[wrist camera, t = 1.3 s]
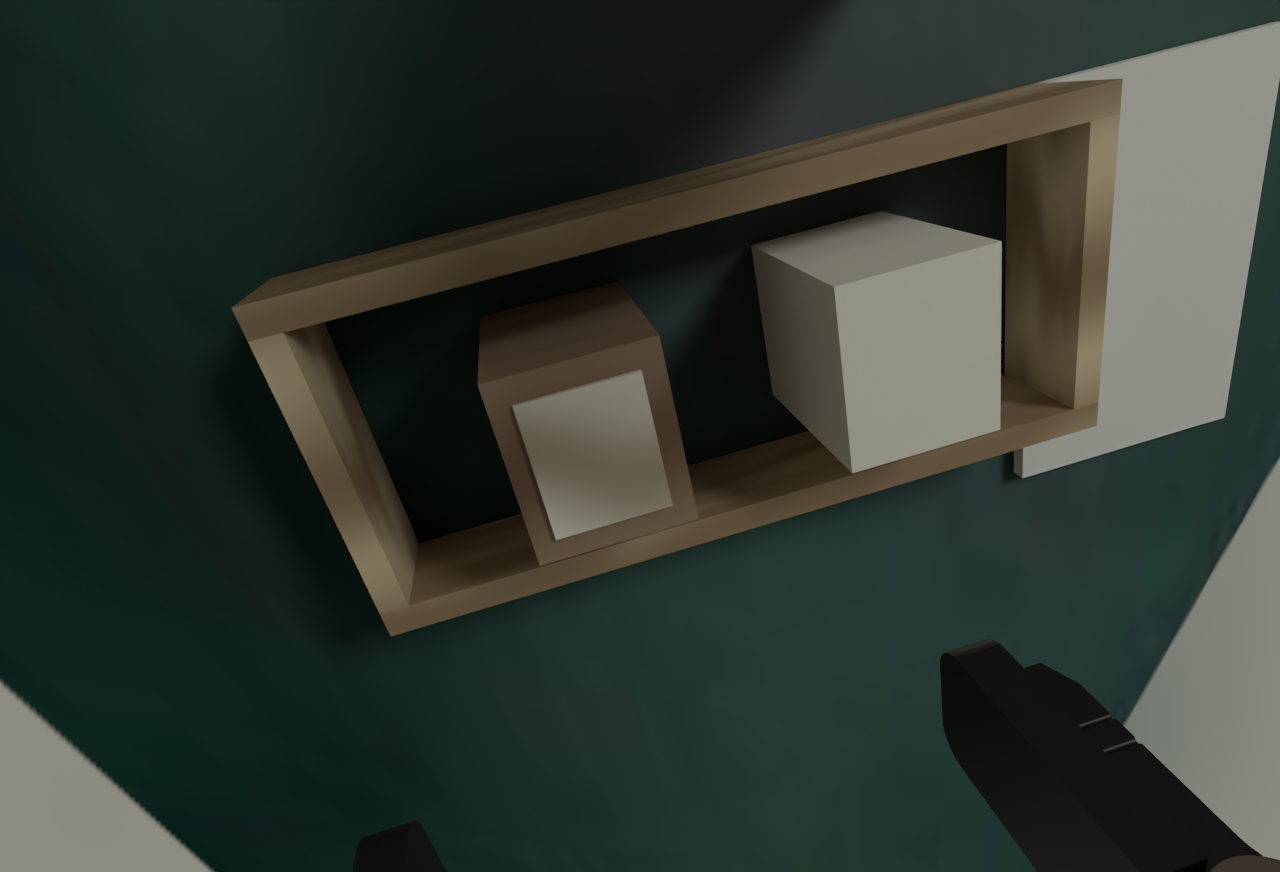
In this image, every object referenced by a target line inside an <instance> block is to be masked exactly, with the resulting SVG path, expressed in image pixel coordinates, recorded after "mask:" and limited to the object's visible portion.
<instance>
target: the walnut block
mask: <svg viewBox="0 0 1280 872" xmlns="http://www.w3.org/2000/svg"><path fill="white" fill-rule="evenodd" d="M478 388H479V391H480V393H481V396H482V399H483V402H484V405H485V408H486V411H487V414H488V417H489V420H490V422H491V425H492V428H493V431H494V434H495V437H496V440H497V443H498V446H499V449H500V452H501V454H502V457H503V460H504V463H505V466H506V469H507V472H508V475H509V478H510V481H511V483H512V486H513V489H514V492H515V495H516V498H517V501H518V504H519V507H520V510H521V512H522V515H523V518H524V521H525V524H526V527H527V530H528V533H529V536H530V539H531V542H532V544H533V547H534V550H535V553H536V556H537V559H538V562H539V565H540V566H541V565H545V564H548V563H551V562H555V561H558V560H562V559H565V558H568V557H572V556H575V555H578V554H582V553H585V552H589V551H592V550H595V549H599V548H602V547H606V546H609V545H612V544H616V543H619V542H622V541H626V540H629V539H633V538H636V537H639V536H643V535H646V534H649V533H653V532H656V531H660V530H663V529H666V528H670V527H673V526H676V525H680V524H683V523H687V522H690V521H693V520H697V519H699V518H698V513H697V508H696V504H695V499H694V494H693V490H692V485H691V480H690V476H689V471H688V466H687V462H686V457H685V452H684V448H683V443H682V438H681V434H680V429H679V424H678V420H677V415H676V410H675V406H674V401H673V396H672V392H671V387H670V382H669V378H668V373H667V368H666V364H665V359H664V354H663V350H662V345H661V340H660V336H659V334H658V333H657V331H656V330H655V329H654V327H653V326H652V325H651V324H650V322H649V321H648V320H647V318H646V317H645V316H644V314H643V313H642V312H641V310H640V309H639V308H638V307H637V305H636V304H635V303H634V301H633V300H632V299H631V297H630V296H629V295H628V293H627V292H626V291H625V290H624V288H623V287H622V286H621V284H620V283H619V282H618V281H614V282H611V283H607V284H603V285H599V286H596V287H592V288H588V289H584V290H581V291H577V292H573V293H569V294H566V295H562V296H558V297H554V298H550V299H547V300H543V301H539V302H535V303H532V304H528V305H524V306H520V307H517V308H513V309H509V310H505V311H502V312H498V313H494V314H490V315H487V316H483V317H480V337H479V362H478Z"/></svg>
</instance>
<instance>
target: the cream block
mask: <svg viewBox="0 0 1280 872" xmlns="http://www.w3.org/2000/svg"><path fill="white" fill-rule="evenodd" d="M751 249H752V256H753V263H754V269H755V276H756V283H757V290H758V297H759V304H760V310H761V317H762V324H763V331H764V338H765V345H766V352H767V358H768V365H769V372H770V379H771V386H772V393H773V395H774V396H775V397H776V398H777V399H778V400H779V401H780V402H781V403H782V404H783V405H784V406H785V407H786V408H787V409H788V410H789V411H790V412H791V413H792V414H793V415H794V416H795V417H796V418H797V419H798V420H799V421H800V422H801V423H802V424H803V425H804V426H805V427H806V428H807V429H808V430H809V431H810V432H811V433H812V434H813V435H814V436H815V437H816V438H817V439H818V440H819V441H820V442H821V443H822V444H823V445H824V446H825V447H826V448H827V449H828V450H829V451H830V452H831V453H832V454H833V455H834V456H835V457H836V458H837V459H838V460H839V461H840V462H841V463H842V464H843V465H844V466H845V467H846V468H847V469H848V470H849V471H850V472H851V473H856V472H859V471H862V470H866V469H869V468H873V467H876V466H879V465H883V464H886V463H889V462H893V461H896V460H900V459H903V458H906V457H910V456H913V455H916V454H920V453H923V452H927V451H930V450H933V449H937V448H940V447H943V446H947V445H950V444H954V443H957V442H960V441H964V440H967V439H971V438H974V437H977V436H981V435H984V434H987V433H991V432H994V431H998V430H1000V412H1001V282H1002V241H999V240H995V239H991V238H987V237H983V236H979V235H975V234H971V233H967V232H963V231H959V230H955V229H951V228H947V227H943V226H939V225H935V224H931V223H927V222H923V221H919V220H915V219H911V218H907V217H903V216H899V215H895V214H891V213H887V212H883V211H878V212H874V213H871V214H867V215H863V216H859V217H855V218H852V219H848V220H844V221H840V222H837V223H833V224H829V225H825V226H822V227H818V228H814V229H810V230H807V231H803V232H799V233H795V234H791V235H788V236H784V237H780V238H776V239H773V240H769V241H765V242H761V243H758V244H754V245H751Z"/></svg>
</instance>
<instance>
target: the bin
mask: <svg viewBox="0 0 1280 872" xmlns="http://www.w3.org/2000/svg"><path fill="white" fill-rule="evenodd" d="M1122 82H1123V79H1107V80H1088V81H1069V82H1050V83H1033V84H1029V85H1026V86H1021V87H1017V88H1013V89H1010V90H1006V91H1002V92H998V93H994V94H990V95H986V96H982V97H978V98H974V99H970V100H966V101H963V102H959V103H955V104H951V105H947V106H943V107H939V108H935V109H931V110H927V111H923V112H919V113H916V114H912V115H908V116H904V117H900V118H896V119H892V120H888V121H884V122H880V123H876V124H872V125H869V126H865V127H861V128H857V129H853V130H849V131H845V132H841V133H837V134H833V135H829V136H825V137H822V138H818V139H814V140H810V141H806V142H802V143H798V144H794V145H790V146H786V147H782V148H778V149H775V150H771V151H767V152H763V153H759V154H755V155H751V156H747V157H743V158H739V159H735V160H731V161H728V162H724V163H720V164H716V165H712V166H708V167H704V168H700V169H696V170H692V171H688V172H684V173H681V174H677V175H673V176H669V177H665V178H661V179H657V180H653V181H649V182H645V183H641V184H637V185H634V186H630V187H626V188H622V189H618V190H614V191H610V192H606V193H602V194H598V195H594V196H590V197H587V198H583V199H579V200H575V201H571V202H567V203H563V204H559V205H555V206H551V207H547V208H543V209H540V210H536V211H532V212H528V213H524V214H520V215H516V216H512V217H508V218H504V219H500V220H496V221H493V222H489V223H485V224H481V225H477V226H473V227H469V228H465V229H461V230H457V231H453V232H449V233H446V234H442V235H438V236H434V237H430V238H426V239H422V240H418V241H414V242H410V243H406V244H402V245H399V246H395V247H391V248H387V249H383V250H379V251H375V252H371V253H367V254H363V255H359V256H355V257H352V258H348V259H344V260H340V261H336V262H332V263H328V264H324V265H320V266H316V267H312V268H308V269H305V270H301V271H297V272H293V273H289V274H285V275H281V276H277V277H273V278H271V279H269V280H268V281H267V282H265V283H264V284H263V285H261V286H260V287H259V288H257V289H256V290H255V291H253V292H252V293H251V294H249V295H248V296H247V297H245V298H244V299H243V300H242V301H240V302H239V303H238V304H236V305H235V306H234V307H232V310H233V312H234V314H235V316H236V318H237V321H238V323H239V325H240V327H241V329H242V331H243V333H244V335H245V337H246V339H247V341H248V343H249V345H250V347H251V349H252V351H253V354H254V356H255V358H256V360H257V362H258V364H259V366H260V368H261V370H262V372H263V374H264V376H265V378H266V380H267V382H268V384H269V387H270V389H271V391H272V393H273V395H274V397H275V399H276V401H277V403H278V405H279V407H280V409H281V411H282V413H283V415H284V417H285V420H286V422H287V424H288V426H289V428H290V430H291V432H292V434H293V436H294V438H295V440H296V442H297V444H298V446H299V448H300V450H301V453H302V455H303V457H304V459H305V461H306V463H307V465H308V467H309V469H310V471H311V473H312V475H313V477H314V479H315V481H316V483H317V486H318V488H319V490H320V492H321V494H322V496H323V498H324V500H325V502H326V504H327V506H328V508H329V510H330V512H331V514H332V516H333V519H334V521H335V523H336V525H337V527H338V529H339V531H340V533H341V535H342V537H343V539H344V541H345V543H346V545H347V547H348V550H349V552H350V554H351V556H352V558H353V560H354V562H355V564H356V566H357V568H358V570H359V572H360V574H361V576H362V578H363V580H364V583H365V585H366V587H367V589H368V591H369V593H370V595H371V597H372V599H373V601H374V603H375V605H376V607H377V609H378V611H379V613H380V616H381V618H382V620H383V622H384V624H385V626H386V628H387V630H388V632H389V634H390V636H394V635H397V634H401V633H404V632H407V631H411V630H414V629H417V628H421V627H424V626H427V625H431V624H434V623H437V622H441V621H444V620H447V619H451V618H454V617H458V616H461V615H464V614H468V613H471V612H474V611H478V610H481V609H484V608H488V607H491V606H494V605H498V604H501V603H504V602H508V601H511V600H515V599H518V598H521V597H525V596H528V595H531V594H535V593H538V592H541V591H545V590H548V589H551V588H555V587H558V586H562V585H565V584H568V583H572V582H575V581H578V580H582V579H585V578H588V577H592V576H595V575H598V574H602V573H605V572H608V571H612V570H615V569H619V568H622V567H625V566H629V565H632V564H635V563H639V562H642V561H645V560H649V559H652V558H655V557H659V556H662V555H665V554H669V553H672V552H676V551H679V550H682V549H686V548H689V547H692V546H696V545H699V544H702V543H706V542H709V541H712V540H716V539H719V538H722V537H726V536H729V535H733V534H736V533H739V532H743V531H746V530H749V529H753V528H756V527H759V526H763V525H766V524H769V523H773V522H776V521H780V520H783V519H786V518H790V517H793V516H796V515H800V514H803V513H806V512H810V511H813V510H816V509H820V508H823V507H826V506H830V505H833V504H837V503H840V502H843V501H847V500H850V499H853V498H857V497H860V496H863V495H867V494H870V493H873V492H877V491H880V490H883V489H887V488H890V487H894V486H897V485H900V484H904V483H907V482H910V481H914V480H917V479H920V478H924V477H927V476H930V475H934V474H937V473H940V472H944V471H947V470H951V469H954V468H957V467H961V466H964V465H967V464H971V463H974V462H977V461H981V460H984V459H987V458H991V457H994V456H998V455H1001V454H1004V453H1008V452H1011V451H1014V450H1018V449H1021V448H1024V447H1028V446H1031V445H1034V444H1038V443H1041V442H1044V441H1048V440H1051V439H1055V438H1058V437H1061V436H1065V435H1068V434H1071V433H1075V432H1078V431H1081V430H1085V429H1088V428H1091V427H1095V426H1097V416H1098V402H1099V389H1100V376H1101V362H1102V349H1103V336H1104V322H1105V309H1106V296H1107V282H1108V269H1109V256H1110V242H1111V229H1112V216H1113V202H1114V189H1115V176H1116V162H1117V149H1118V136H1119V122H1120V109H1121V96H1122ZM1003 144H1007V191H1006V284H1005V374H1003V375H1001V412H1000V430H998V431H994V432H991V433H987V434H984V435H981V436H977V437H974V438H971V439H967V440H964V441H960V442H957V443H954V444H950V445H947V446H943V447H940V448H937V449H933V450H930V451H927V452H923V453H920V454H916V455H913V456H910V457H906V458H903V459H900V460H896V461H893V462H889V463H886V464H883V465H879V466H876V467H873V468H869V469H866V470H862V471H859V472H856V473H851V472H850V471H849V470H848V469H847V468H846V467H845V466H844V465H843V464H842V463H841V462H840V461H839V460H838V459H837V458H836V457H835V456H834V455H833V454H832V453H831V452H830V451H829V450H828V449H827V448H826V447H825V446H824V445H823V444H822V443H821V442H820V441H819V440H818V439H817V438H816V437H815V436H814V435H813V434H812V433H811V432H810V431H806V432H803V433H799V434H796V435H792V436H789V437H785V438H782V439H778V440H775V441H771V442H768V443H764V444H761V445H758V446H754V447H751V448H747V449H744V450H740V451H737V452H733V453H730V454H726V455H723V456H719V457H716V458H713V459H709V460H706V461H702V462H699V463H695V464H692V465H688V471H689V476H690V480H691V485H692V490H693V494H694V499H695V504H696V508H697V513H698V518H699V519H697V520H693V521H690V522H687V523H683V524H680V525H676V526H673V527H670V528H666V529H663V530H660V531H656V532H653V533H649V534H646V535H643V536H639V537H636V538H633V539H629V540H626V541H622V542H619V543H616V544H612V545H609V546H606V547H602V548H599V549H595V550H592V551H589V552H585V553H582V554H578V555H575V556H572V557H568V558H565V559H562V560H558V561H555V562H551V563H548V564H545V565H541V566H540V565H539V562H538V559H537V556H536V553H535V550H534V547H533V544H532V542H531V539H530V536H529V533H528V530H527V527H526V524H525V521H524V518H523V515H522V514H519V515H515V516H512V517H508V518H505V519H501V520H498V521H494V522H491V523H487V524H484V525H481V526H477V527H474V528H470V529H467V530H463V531H460V532H456V533H453V534H449V535H446V536H442V537H439V538H436V539H432V540H429V541H425V542H422V543H419V542H418V540H417V537H416V535H415V533H414V530H413V528H412V526H411V523H410V521H409V519H408V516H407V514H406V512H405V509H404V507H403V505H402V502H401V500H400V498H399V495H398V493H397V491H396V488H395V486H394V484H393V481H392V479H391V477H390V474H389V472H388V470H387V467H386V465H385V463H384V460H383V458H382V456H381V453H380V451H379V449H378V446H377V444H376V442H375V439H374V437H373V435H372V433H371V430H370V428H369V426H368V423H367V421H366V419H365V416H364V414H363V412H362V409H361V407H360V405H359V402H358V400H357V398H356V395H355V393H354V391H353V388H352V386H351V384H350V381H349V379H348V377H347V374H346V372H345V370H344V367H343V365H342V363H341V360H340V358H339V356H338V353H337V351H336V349H335V346H334V344H333V342H332V339H331V337H330V335H329V332H328V330H327V328H326V325H325V323H324V322H326V321H330V320H334V319H338V318H342V317H345V316H349V315H353V314H357V313H361V312H365V311H368V310H372V309H376V308H380V307H384V306H387V305H391V304H395V303H399V302H403V301H407V300H410V299H414V298H418V297H422V296H426V295H430V294H433V293H437V292H441V291H445V290H449V289H452V288H456V287H460V286H464V285H468V284H472V283H475V282H479V281H483V280H487V279H491V278H495V277H498V276H502V275H506V274H510V273H514V272H517V271H521V270H525V269H529V268H533V267H537V266H540V265H544V264H548V263H552V262H556V261H559V260H563V259H567V258H571V257H575V256H579V255H582V254H586V253H590V252H594V251H598V250H602V249H605V248H609V247H613V246H617V245H621V244H624V243H628V242H632V241H636V240H640V239H644V238H647V237H651V236H655V235H659V234H663V233H667V232H670V231H674V230H678V229H682V228H686V227H689V226H693V225H697V224H701V223H705V222H709V221H712V220H716V219H720V218H724V217H728V216H732V215H735V214H739V213H743V212H747V211H751V210H754V209H758V208H762V207H766V206H770V205H774V204H777V203H781V202H785V201H789V200H793V199H796V198H800V197H804V196H808V195H812V194H816V193H819V192H823V191H827V190H831V189H835V188H839V187H842V186H846V185H850V184H854V183H858V182H861V181H865V180H869V179H873V178H877V177H881V176H884V175H888V174H892V173H896V172H900V171H904V170H907V169H911V168H915V167H919V166H923V165H926V164H930V163H934V162H938V161H942V160H946V159H949V158H953V157H957V156H961V155H965V154H969V153H972V152H976V151H980V150H984V149H988V148H991V147H995V146H999V145H1003Z"/></svg>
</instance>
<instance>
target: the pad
mask: <svg viewBox="0 0 1280 872" xmlns="http://www.w3.org/2000/svg"><path fill="white" fill-rule="evenodd" d="M1107 79H1123V82H1122V96H1121V109H1120V122H1119V136H1118V149H1117V162H1116V176H1115V189H1114V202H1113V216H1112V229H1111V242H1110V256H1109V269H1108V282H1107V296H1106V309H1105V322H1104V336H1103V349H1102V362H1101V376H1100V389H1099V402H1098V416H1097V426H1095V427H1091V428H1088V429H1085V430H1081V431H1078V432H1075V433H1071V434H1068V435H1065V436H1061V437H1058V438H1055V439H1051V440H1048V441H1044V442H1041V443H1038V444H1034V445H1031V446H1028V447H1024V448H1021V449H1018V450H1014V473H1015V474H1017V475H1018V476H1020V477H1021V478H1025V477H1029V476H1032V475H1035V474H1039V473H1042V472H1045V471H1049V470H1052V469H1055V468H1059V467H1062V466H1065V465H1068V464H1072V463H1075V462H1078V461H1082V460H1085V459H1088V458H1092V457H1095V456H1098V455H1102V454H1105V453H1108V452H1112V451H1115V450H1118V449H1121V448H1125V447H1128V446H1131V445H1135V444H1138V443H1141V442H1145V441H1148V440H1151V439H1155V438H1158V437H1161V436H1165V435H1168V434H1171V433H1175V432H1178V431H1181V430H1184V429H1188V428H1191V427H1194V426H1198V425H1201V424H1204V423H1208V422H1211V421H1214V420H1218V419H1221V418H1224V417H1225V411H1226V405H1227V399H1228V393H1229V387H1230V380H1231V374H1232V368H1233V362H1234V356H1235V350H1236V344H1237V337H1238V331H1239V325H1240V319H1241V313H1242V307H1243V301H1244V294H1245V288H1246V282H1247V276H1248V270H1249V264H1250V257H1251V251H1252V245H1253V239H1254V233H1255V227H1256V221H1257V214H1258V208H1259V202H1260V196H1261V190H1262V184H1263V178H1264V171H1265V165H1266V159H1267V153H1268V147H1269V141H1270V134H1271V128H1272V122H1273V116H1274V110H1275V104H1276V98H1277V91H1278V85H1279V79H1280V22H1272V23H1268V24H1264V25H1260V26H1256V27H1252V28H1248V29H1245V30H1241V31H1237V32H1233V33H1229V34H1225V35H1221V36H1217V37H1213V38H1209V39H1205V40H1201V41H1198V42H1194V43H1190V44H1186V45H1182V46H1178V47H1174V48H1170V49H1166V50H1162V51H1158V52H1154V53H1151V54H1147V55H1143V56H1139V57H1135V58H1131V59H1127V60H1123V61H1119V62H1115V63H1111V64H1107V65H1104V66H1100V67H1096V68H1092V69H1088V70H1084V71H1080V72H1076V73H1072V74H1068V75H1064V76H1060V77H1057V78H1053V79H1049V80H1045V81H1041V82H1037V83H1050V82H1069V81H1088V80H1107ZM1025 86H1026V85H1025Z"/></svg>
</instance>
